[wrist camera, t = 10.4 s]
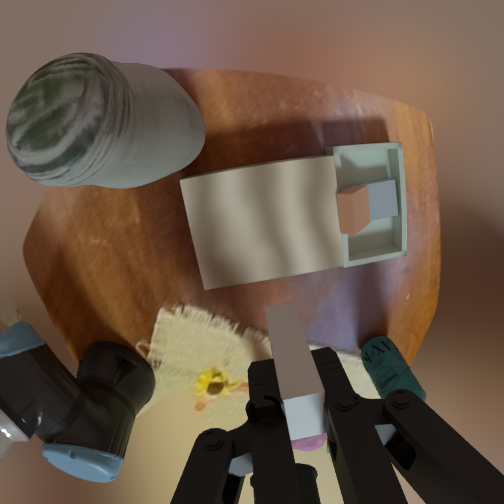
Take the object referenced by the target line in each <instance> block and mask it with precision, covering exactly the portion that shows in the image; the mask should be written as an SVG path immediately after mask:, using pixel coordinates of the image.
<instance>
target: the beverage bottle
mask: <svg viewBox="0 0 504 504" xmlns="http://www.w3.org/2000/svg"><path fill="white" fill-rule="evenodd" d="M398 350H399V349H398V348H396V346H395V345H394V342H392V340H390V339H389V338H388V337H385V336H378V337H375V338H373V339H371V340H370V341H368V342H367V343H366V344H365V345H364V347H363V348H362V351H361V359H362V361H363V363H364V364H363V365H365V366H364V367H365V369H366V370H367V372H368V373H369V375H370V377H371V379H372V381H373V383H374V386H375V387H376V390H377V391H378V393H379V394H378V395H380V397H381V399H385V397H386V395H387V394H388V393H390V392H391V391H393V390H396V389H407V390H410V391H412V392H414V393H415V394H416V395H417V396H418V397H419V398H420V399H422V400H423V401H424V402H425V399H426V392H425V391H424V390H423V389H422V387H421V385H420V384H419V382H418V381H417V379H416V378H415V376H414V374H413V373H412V372H411V369H410V368H409V367H410V366H408V365H407V363H406V362H405V361H406V360H404V359H405V358H404V359H403V356H401V355H402V354H400V353H401V352H400V351H398ZM399 352H400V353H399Z"/></svg>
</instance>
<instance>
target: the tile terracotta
mask: <svg viewBox="0 0 504 504" xmlns="http://www.w3.org/2000/svg"><path fill="white" fill-rule="evenodd" d="M337 203H338V211H339V220H340V230H341V234H350V235H356V234H357V233H358V232H359V231H361V230H362V229H363V228H364V227H365V226H367V225H368V224H369V223H370V222H371V221H370V207H369V196H368V186H367V185H353V186H351V187H349V188H347V189H345V190H343V191H341V192H339V193H337Z"/></svg>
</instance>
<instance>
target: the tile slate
mask: <svg viewBox="0 0 504 504" xmlns="http://www.w3.org/2000/svg"><path fill="white" fill-rule="evenodd" d="M357 185H367V186H368V196H369V207H370V221H373V220H378V219H383V218H387V217H392V216H396V215H398V205H397V195H396V185H395V180H394V179H390V178H385V179H379V180H373V181H368V182H362V183H357Z"/></svg>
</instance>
